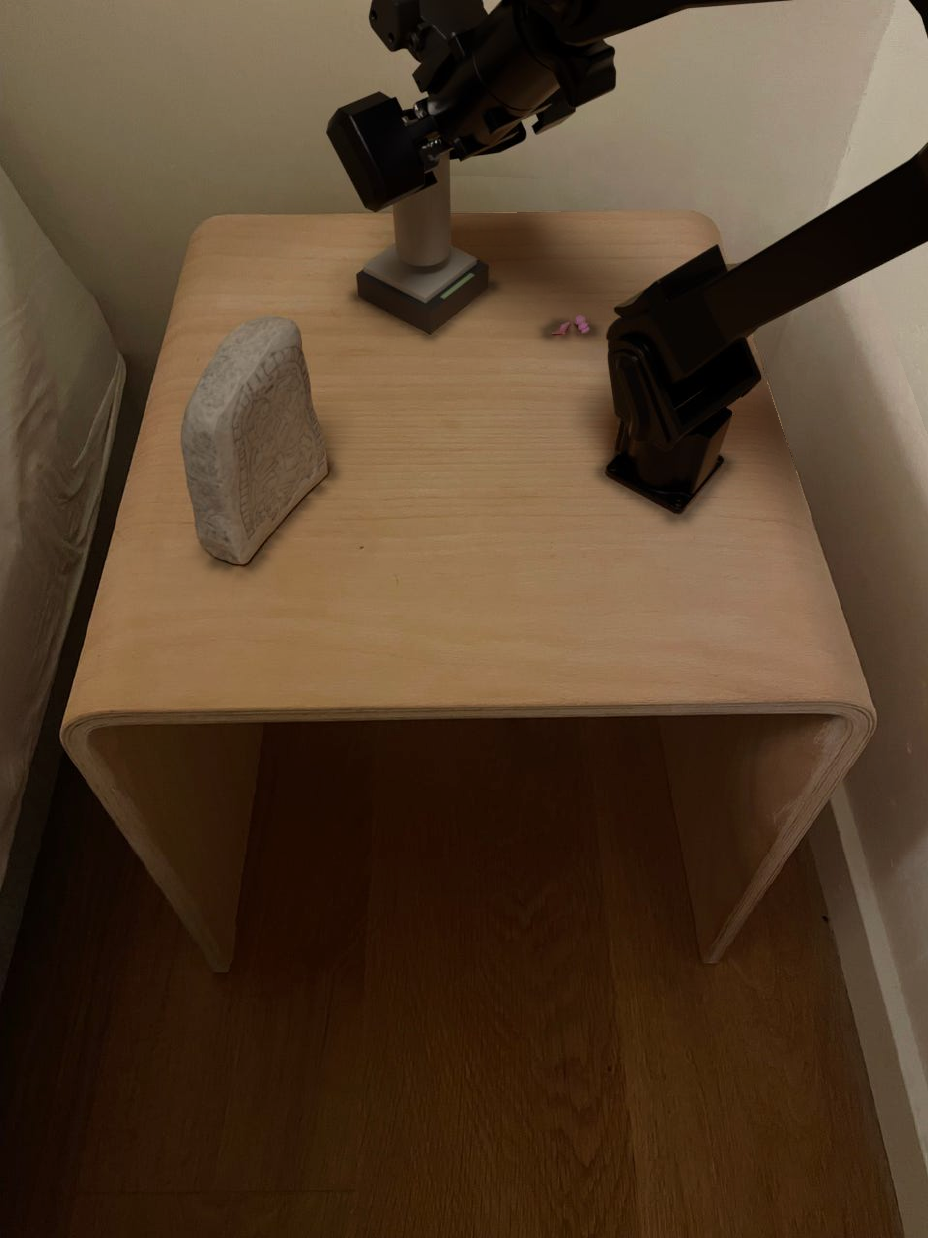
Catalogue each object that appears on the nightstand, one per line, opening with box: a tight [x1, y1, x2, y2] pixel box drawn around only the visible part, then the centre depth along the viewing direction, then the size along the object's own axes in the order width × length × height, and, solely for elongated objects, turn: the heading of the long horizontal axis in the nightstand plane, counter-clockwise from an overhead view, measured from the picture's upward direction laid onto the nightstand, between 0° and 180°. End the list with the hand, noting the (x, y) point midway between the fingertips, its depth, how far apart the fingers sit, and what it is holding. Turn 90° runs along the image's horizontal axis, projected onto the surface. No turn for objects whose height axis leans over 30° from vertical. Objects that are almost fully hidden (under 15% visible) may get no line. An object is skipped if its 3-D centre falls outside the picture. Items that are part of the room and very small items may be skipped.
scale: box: [355, 242, 490, 335], centre depth 76 cm, size 8×8×3 cm
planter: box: [392, 107, 452, 266], centre depth 70 cm, size 4×4×10 cm
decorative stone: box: [180, 315, 329, 565], centre depth 58 cm, size 11×6×15 cm, turn 153°
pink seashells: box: [551, 314, 591, 335], centre depth 75 cm, size 3×2×2 cm
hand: (409, 165), depth 69 cm, fingers closed on planter, 4 cm apart
